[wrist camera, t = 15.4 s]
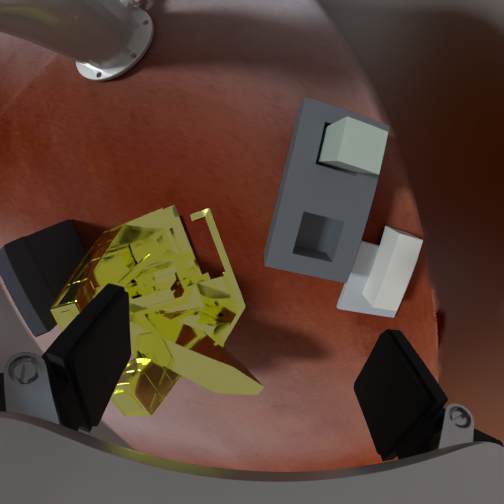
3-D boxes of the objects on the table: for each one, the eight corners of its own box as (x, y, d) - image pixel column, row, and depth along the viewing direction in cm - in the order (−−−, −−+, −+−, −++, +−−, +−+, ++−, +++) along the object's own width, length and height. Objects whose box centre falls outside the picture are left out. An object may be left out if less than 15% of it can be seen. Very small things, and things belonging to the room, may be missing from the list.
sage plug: (320, 130, 29) (347, 116, 20) (351, 140, 30) (388, 131, 20) (313, 161, 31) (337, 160, 21) (344, 171, 31) (379, 174, 21)
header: (298, 106, 30) (305, 97, 25) (372, 130, 30) (389, 126, 26) (263, 252, 36) (264, 266, 31) (336, 268, 36) (346, 283, 31)
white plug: (362, 294, 36) (385, 225, 33) (385, 298, 36) (408, 232, 34) (372, 307, 32) (399, 233, 30) (396, 311, 33) (423, 240, 30)
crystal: (160, 366, 42) (131, 436, 27) (90, 230, 35) (19, 267, 20) (265, 345, 40) (268, 427, 25) (204, 182, 33) (163, 196, 18)
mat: (359, 239, 35) (361, 241, 34) (415, 255, 35) (418, 257, 35) (336, 306, 38) (337, 308, 37) (392, 315, 38) (393, 317, 38)
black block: (56, 228, 35) (-10, 259, 21) (73, 216, 34) (2, 245, 20) (87, 289, 38) (32, 339, 24) (105, 280, 37) (48, 332, 23)
